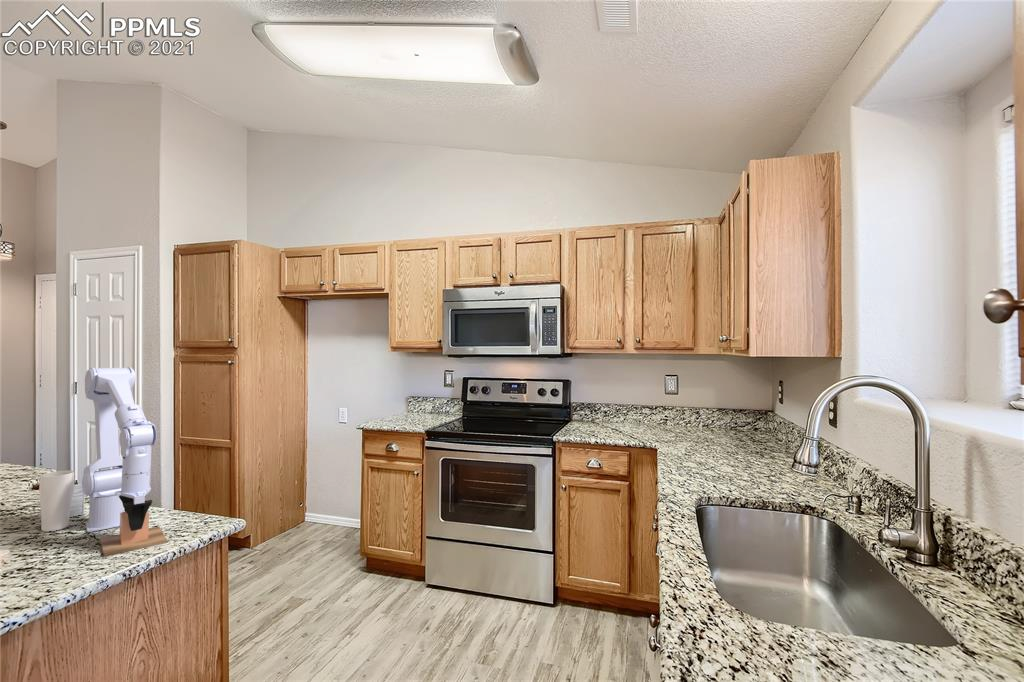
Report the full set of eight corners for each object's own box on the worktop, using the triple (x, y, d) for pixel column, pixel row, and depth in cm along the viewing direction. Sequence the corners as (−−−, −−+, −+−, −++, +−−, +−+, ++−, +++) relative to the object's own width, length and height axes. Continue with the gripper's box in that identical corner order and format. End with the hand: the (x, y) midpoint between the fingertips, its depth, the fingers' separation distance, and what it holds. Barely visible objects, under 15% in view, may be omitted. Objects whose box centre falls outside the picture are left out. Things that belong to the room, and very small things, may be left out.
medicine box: (81, 512, 136) (83, 483, 137) (84, 515, 133) (85, 486, 134) (44, 519, 130) (45, 488, 130) (45, 523, 127) (47, 492, 128)
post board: (100, 541, 116) (100, 522, 116) (158, 529, 124) (159, 511, 125) (104, 556, 107) (104, 536, 108) (166, 542, 116) (167, 523, 116)
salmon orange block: (119, 538, 116) (120, 512, 116) (145, 533, 120) (146, 508, 120) (121, 544, 112) (122, 518, 112) (148, 539, 116) (149, 513, 116)
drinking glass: (30, 534, 119) (33, 477, 120) (48, 525, 126) (51, 470, 126) (61, 532, 121) (64, 476, 121) (78, 523, 128) (80, 469, 128)
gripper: (113, 469, 119) (110, 521, 118) (119, 480, 109) (116, 538, 108) (147, 465, 124) (145, 515, 123) (156, 475, 114) (153, 530, 113)
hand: (134, 525), depth 116 cm, fingers open, 7 cm apart
